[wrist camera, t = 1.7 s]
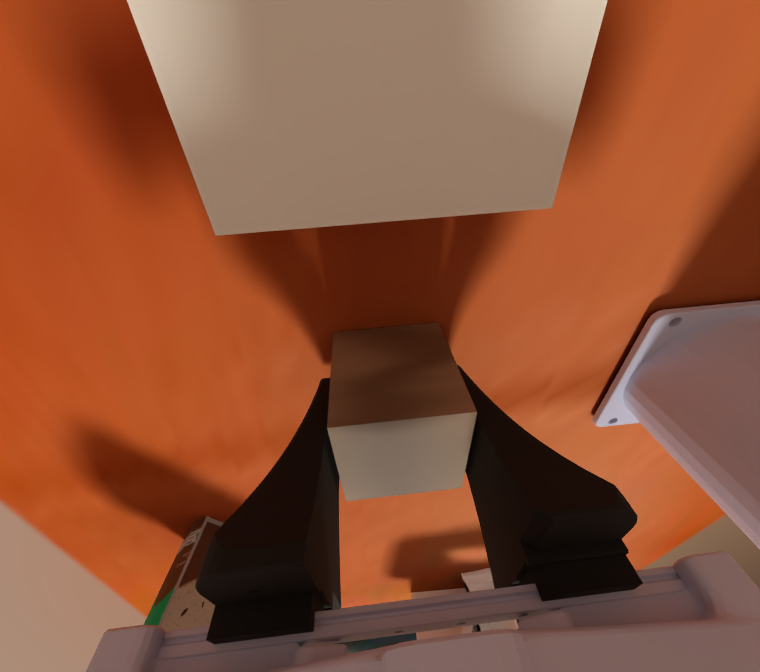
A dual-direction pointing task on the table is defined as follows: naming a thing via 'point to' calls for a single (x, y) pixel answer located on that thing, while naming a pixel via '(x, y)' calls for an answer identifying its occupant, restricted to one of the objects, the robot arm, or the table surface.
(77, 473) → the table surface
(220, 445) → the table surface
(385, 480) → the grayish beige block
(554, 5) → the base block
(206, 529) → the food container
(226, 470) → the table surface
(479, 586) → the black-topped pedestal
